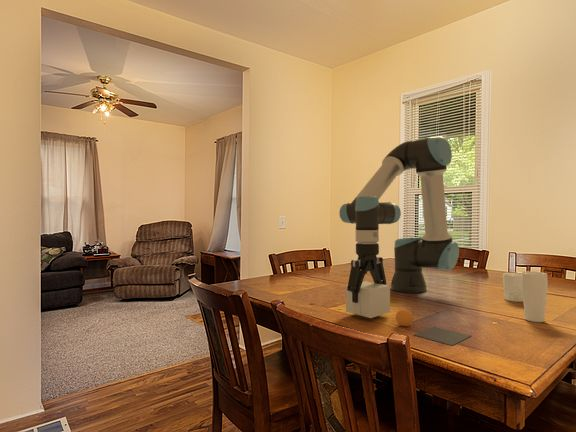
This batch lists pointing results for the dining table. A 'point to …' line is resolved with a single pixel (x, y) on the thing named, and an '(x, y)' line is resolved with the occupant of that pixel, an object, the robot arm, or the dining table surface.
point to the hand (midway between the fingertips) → (367, 309)
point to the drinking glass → (534, 295)
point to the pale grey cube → (371, 299)
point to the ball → (404, 317)
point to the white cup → (513, 287)
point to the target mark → (443, 335)
